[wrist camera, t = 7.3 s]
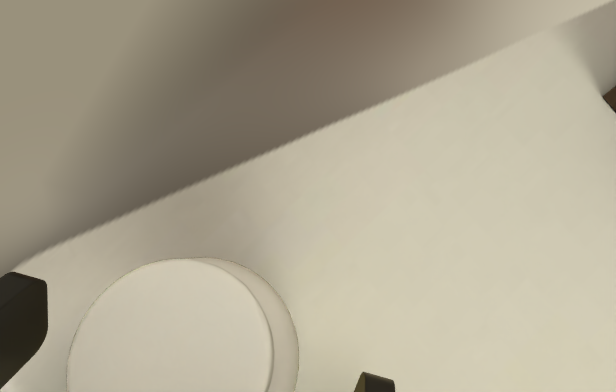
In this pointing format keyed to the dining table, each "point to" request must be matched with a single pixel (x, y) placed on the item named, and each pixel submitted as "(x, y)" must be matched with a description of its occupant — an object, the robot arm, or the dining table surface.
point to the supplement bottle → (186, 333)
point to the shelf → (611, 97)
